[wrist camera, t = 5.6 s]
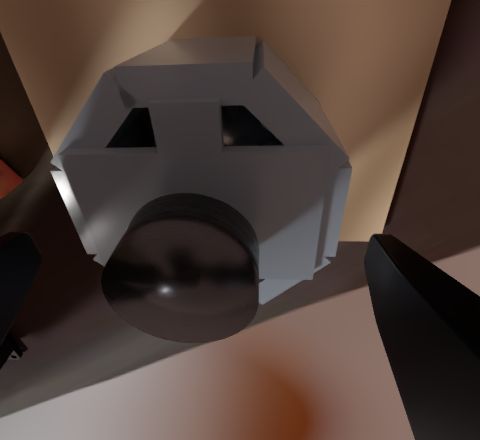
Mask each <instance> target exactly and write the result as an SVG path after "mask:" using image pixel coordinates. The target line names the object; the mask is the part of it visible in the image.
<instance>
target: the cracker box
mask: <svg viewBox="0 0 480 440" xmlns="http://www.w3.org/2000/svg"><path fill="white" fill-rule="evenodd" d="M22 182H23V179H22V178H21V177H20V176H18V175H17V174H16V173H15V172H14V171H13V170H12V169H11V168H10V167H8V166H7V165H6V164H5V163H4V162H3V161H2V160H1V159H0V199H2V198H3V197H4V196H6V195H7V194H8V193H10V192H11V191H12V190H13V189H15V188H16V187H17V186H18V185H20V184H21V183H22Z"/></svg>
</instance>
